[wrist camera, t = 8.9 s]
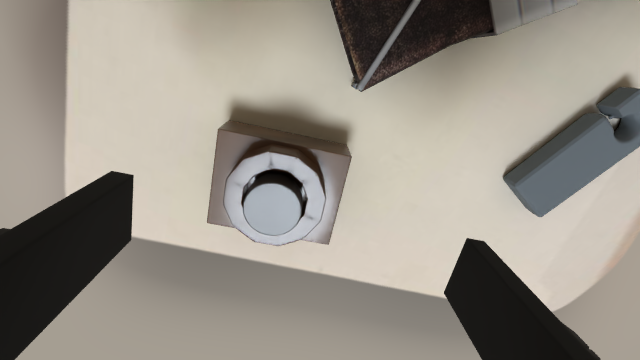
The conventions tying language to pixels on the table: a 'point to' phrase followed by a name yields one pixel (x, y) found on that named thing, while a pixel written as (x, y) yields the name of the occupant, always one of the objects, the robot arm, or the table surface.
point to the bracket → (578, 153)
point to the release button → (273, 204)
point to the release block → (282, 158)
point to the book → (423, 29)
